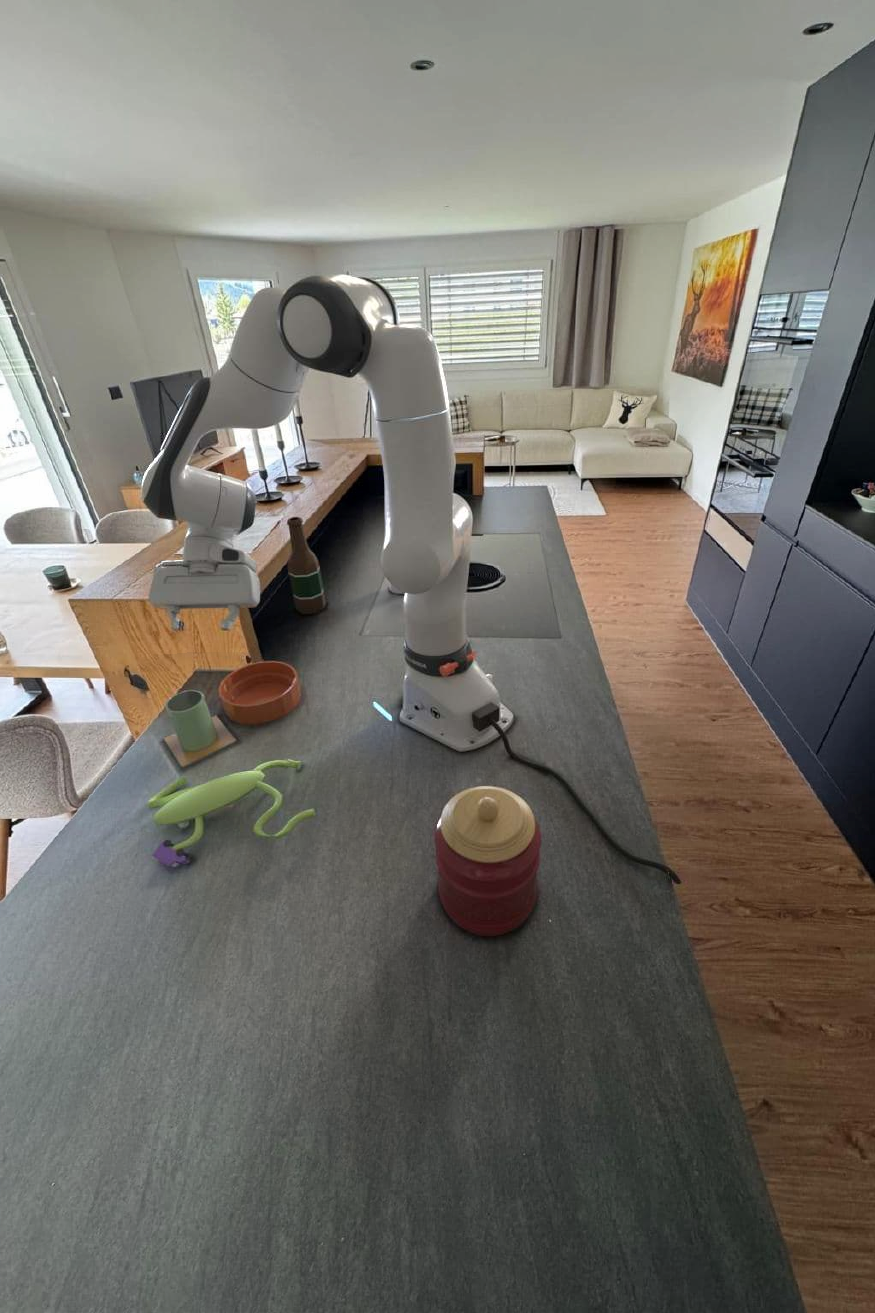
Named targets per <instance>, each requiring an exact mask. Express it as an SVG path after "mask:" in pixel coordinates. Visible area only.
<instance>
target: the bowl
mask: <svg viewBox="0 0 875 1313" xmlns="http://www.w3.org/2000/svg"><path fill="white" fill-rule="evenodd" d="M218 697H219V699H220V703H221V706H222V708H223V711H224V714H225V715H226V716H227V718H228V719H229V720H231V721H233V722H235V723H238V724H242V725H248V726H250V725H251V726H252V725H262V724H266V723H269V722H273V721H274V722H275V721H276V720H278V719H280V718H283V717H285V716H286V715H288V714H289V713H291V711H293V710H294V709H296V707H297V705H299V703H300V701H301V698H302V688H301V684H300V680H299V676H298V672H297V669H296V668H294V667H293V666H292V665H291V664H289V663H286V662H283V661H278V660H277V661H276V660H266V661H265V660H264V661H257V662H253V663H249V664H246V665H243V666H241V667H239V668H237V669H235V670H234V671H232V672H230V673H229V674H228V675H227V676H225V677H224V679H223V680H221V682H220V684H219V687H218Z"/></svg>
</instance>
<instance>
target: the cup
mask: <svg viewBox="0 0 875 1313" xmlns="http://www.w3.org/2000/svg"><path fill="white" fill-rule="evenodd" d="M164 707H165V710H166V712H167V715H168V717H169V721H170V722H171V725H172V727H173V730H174V733H176V735H177V737H178V740H179V742H180V745H181V747H182V748H183V749H184V750H186V751H199V750H202V749H205V748H207V747H208V746H210V745H211V744H212V743H214V741H215V740H216V738H217V732H216V729H215V726H214V723H213V720H212V718H211V717H212V715H211V712H210V709H209V706H208V704H207V701H206V698H205V695H204V693H203V692H202V691H200V690H196V689H189V690H184V691H180V692H178V693H176V694H174V695H172V696H170V697H169V699H167V701H166V702H165V706H164Z"/></svg>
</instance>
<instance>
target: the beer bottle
mask: <svg viewBox="0 0 875 1313" xmlns="http://www.w3.org/2000/svg"><path fill="white" fill-rule="evenodd" d="M303 523H304V520H303V519H302V518H301V517H299V516H292V517H289V518H287V521H286V525H287V526H288V530H289V538H290V539H289V540H290V545H291V553H290V555H289V557H288V561H287V571H288V578H289V581H290V582H289V583H290V586H291V592H292V596H293V601H294V605H295V609H296V611H297V612H298V613H300V614H302V615H315V614H318V613H320V612H323V611H325V610H324V609H325V607H326V596H325V590H324V585H323V579H322V572H321V568H320V567H321V566H320V563H319V559H318V558H317V556H316V554H315V553H314V552H313V551H312V550H311V549H310V548H309V544H308V542H307V541H308V540H307V538H306V534H305V529H304V524H303Z"/></svg>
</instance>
